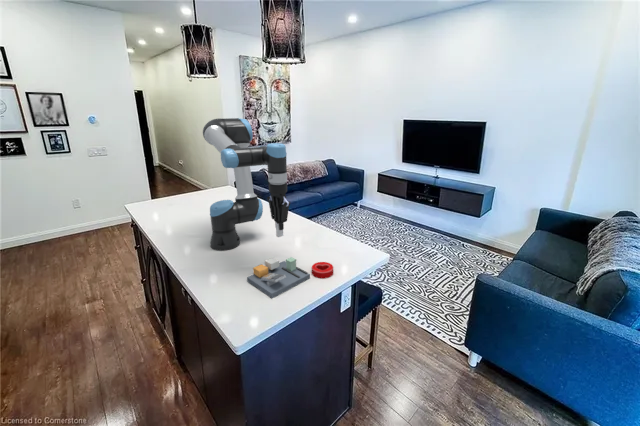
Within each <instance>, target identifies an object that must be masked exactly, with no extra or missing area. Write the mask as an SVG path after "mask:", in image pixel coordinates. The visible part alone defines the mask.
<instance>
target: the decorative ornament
mask: <svg viewBox="0 0 640 426" xmlns="http://www.w3.org/2000/svg"><path fill="white" fill-rule="evenodd" d="M311 275H312V276H313V277H314V278H317V279H329V278H331V277H332V276H333V275H334V266H333V264H332V263H330V262H326V261H319V262H318V261H317V262H315V263H313V264H312V265H311Z"/></svg>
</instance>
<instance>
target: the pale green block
mask: <svg viewBox="0 0 640 426" xmlns="http://www.w3.org/2000/svg"><path fill="white" fill-rule="evenodd" d="M285 261H286V268H287V270H289V271H293V270H295V269H296V267H297V259H296V258H294V257H292V256H290V257H289V258H287V259H285Z"/></svg>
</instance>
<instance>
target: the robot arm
mask: <svg viewBox="0 0 640 426" xmlns="http://www.w3.org/2000/svg"><path fill="white" fill-rule="evenodd" d="M253 135H254V134H253V129H252V125H251V124H250V122H249V121H248V120H247V119H245V118H239V117H238V118H235V117H234V118H233V117H232V118H214V119H211V120H209V121H208V122H207V123H205V125H204V126H203V129H202V136H203V138H204V140H205V141H206V142H207V144H209V145H211V146H213V147H214V148H215V149H216V150H217V152H219V154H220V162H221V164H222V166H223V168H225V169H233V172H234V180H235V186H236V194H237V195H236V197H234V200H235V201H234V202H233V200H232V199H223V200H222V199H221V200H218V201H215V202H214V203H212V204H211V205H210V207H209V216H210V224H211V231H212V232H211V233H212V234H211V237H210V241H209V243H210V244H209V245H210V248H211V249H212V250H215V251H228V250H233V249H235V248H237V247H239V246H240V245H241V239H240V236H239V234H238V232H237V230H236V225H240V224H245V223H249V222H254V221H258V220H260V219H261V218H262V216H263V212H264V207H263V202H262V200H261V199H260V198H258V195H257V194H256V193H254V191H255V190H254V186H253V184H254V183H253V178H252V171H251V170H252V169H251V167H256V166H257V167H258V166H267V174H268V175H267V176H268V178H267V181H268V193H269V194H270V196H266V200H267V201H268V206H269V212H270V217H271V219H272V220H274V222H275V224H274V225H275V235H276V237H277V238H281V237H283V236H284V228H285V227H284V226H285V225H284V223H286V222H287V221H288V216H289V210H290V206H291V201H288V200H287V196H286V193H287V192H288V183H287V182H288V175H287V174H288V173H287V147H286V144H284V143H276V142H275V143H274V142H273V143H268V144H267V145H259V146H255V147H249V146H250V145H251V141H253V138H254V137H253Z"/></svg>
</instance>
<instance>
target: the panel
mask: <svg viewBox="0 0 640 426" xmlns="http://www.w3.org/2000/svg"><path fill="white" fill-rule="evenodd" d="M279 263H280V266H279V267H277V268H275V269H273V270H270V269H269V268H268V274H269V273H274V274H283V275H286V278H283V279H281V280H279V281H277V282H271V281H264V280H261V278H262V277H263V276H262V277H260V278H259V277H258V276H256V275H255V274H254V273H252V274H250V275H249V276H247V277H246V281H247V282H248V283H249V284H250V285H252V286H253V287H255V288H256V289H258V290H260V291H261V292H262V293H264V294H265V295H267V296H268V297H270V298H271V299H273V298H276V297H277V296H279V295H281V294H283V293H285V292H288V290H291V289H292V288H294V287H296V286H298V285H301V284H302V283H304V282H306V281H307V280H309V279H311V274H310V273H309V272H307V271H306V270H303V269H302V268H300V267H298V266H296V269H295V270H293V271H289V270H287V268H286V260H283V261H279Z"/></svg>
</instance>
